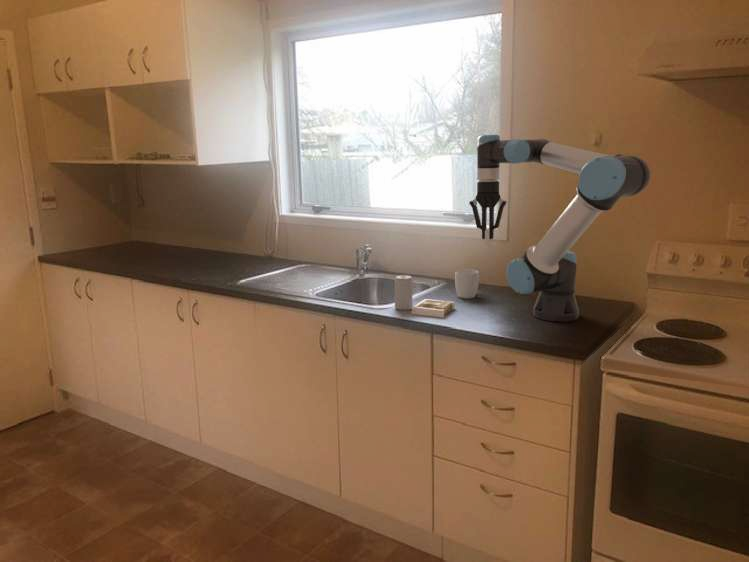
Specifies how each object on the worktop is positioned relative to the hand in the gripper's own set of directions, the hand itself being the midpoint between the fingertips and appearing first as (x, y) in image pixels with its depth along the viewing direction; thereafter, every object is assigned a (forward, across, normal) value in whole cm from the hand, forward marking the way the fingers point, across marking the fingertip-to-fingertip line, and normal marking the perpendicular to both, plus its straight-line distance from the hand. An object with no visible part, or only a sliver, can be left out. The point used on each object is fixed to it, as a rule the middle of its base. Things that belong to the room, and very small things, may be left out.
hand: (487, 248), depth 219 cm
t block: (+22, +17, +8) cm, 29 cm away
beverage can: (+22, +29, +8) cm, 37 cm away
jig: (+22, +17, +8) cm, 29 cm away
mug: (+22, +11, -19) cm, 31 cm away
